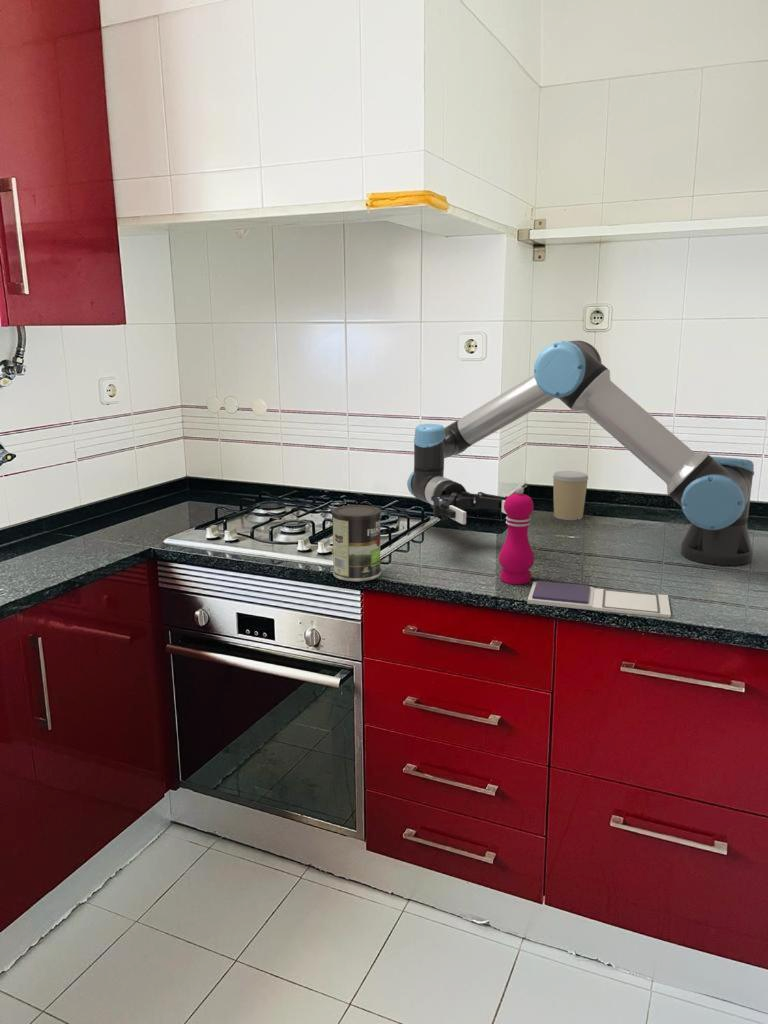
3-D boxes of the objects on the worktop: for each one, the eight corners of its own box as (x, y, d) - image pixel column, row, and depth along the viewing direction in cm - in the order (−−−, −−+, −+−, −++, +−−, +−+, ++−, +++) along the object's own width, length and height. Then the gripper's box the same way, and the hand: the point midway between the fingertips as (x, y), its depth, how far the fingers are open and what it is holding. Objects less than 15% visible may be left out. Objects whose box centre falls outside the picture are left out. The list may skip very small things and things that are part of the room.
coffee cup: (575, 511, 222) (577, 469, 219) (592, 519, 213) (594, 476, 210) (545, 513, 220) (547, 471, 217) (560, 521, 211) (563, 478, 208)
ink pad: (593, 590, 158) (594, 584, 157) (591, 610, 148) (592, 603, 147) (533, 585, 161) (533, 579, 161) (527, 603, 151) (527, 597, 151)
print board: (667, 598, 154) (667, 594, 154) (670, 618, 144) (670, 614, 144) (593, 590, 158) (594, 587, 158) (591, 610, 148) (591, 606, 147)
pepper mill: (506, 586, 160) (511, 491, 155) (492, 575, 167) (495, 483, 162) (539, 583, 162) (543, 488, 157) (523, 572, 169) (527, 481, 164)
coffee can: (388, 569, 171) (388, 506, 168) (369, 584, 162) (369, 518, 158) (344, 564, 175) (344, 502, 171) (324, 578, 165) (323, 513, 162)
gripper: (490, 505, 195) (539, 526, 176) (399, 514, 186) (440, 537, 167) (491, 476, 193) (541, 493, 175) (399, 483, 184) (441, 503, 165)
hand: (492, 515), depth 171 cm, fingers open, 13 cm apart
